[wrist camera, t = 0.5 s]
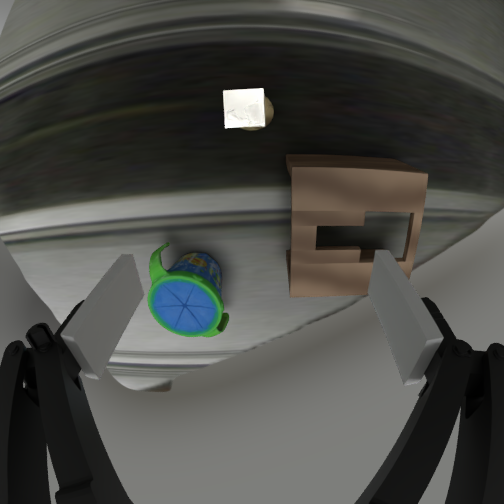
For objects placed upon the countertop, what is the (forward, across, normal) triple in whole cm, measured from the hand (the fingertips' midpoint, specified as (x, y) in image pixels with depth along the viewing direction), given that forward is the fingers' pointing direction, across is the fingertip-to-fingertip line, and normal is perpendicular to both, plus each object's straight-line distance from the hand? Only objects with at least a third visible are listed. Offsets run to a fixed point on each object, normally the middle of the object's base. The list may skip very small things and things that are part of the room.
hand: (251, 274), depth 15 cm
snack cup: (+26, -11, -16) cm, 33 cm away
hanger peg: (+27, -1, +8) cm, 28 cm away
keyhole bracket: (+26, +11, -6) cm, 29 cm away
